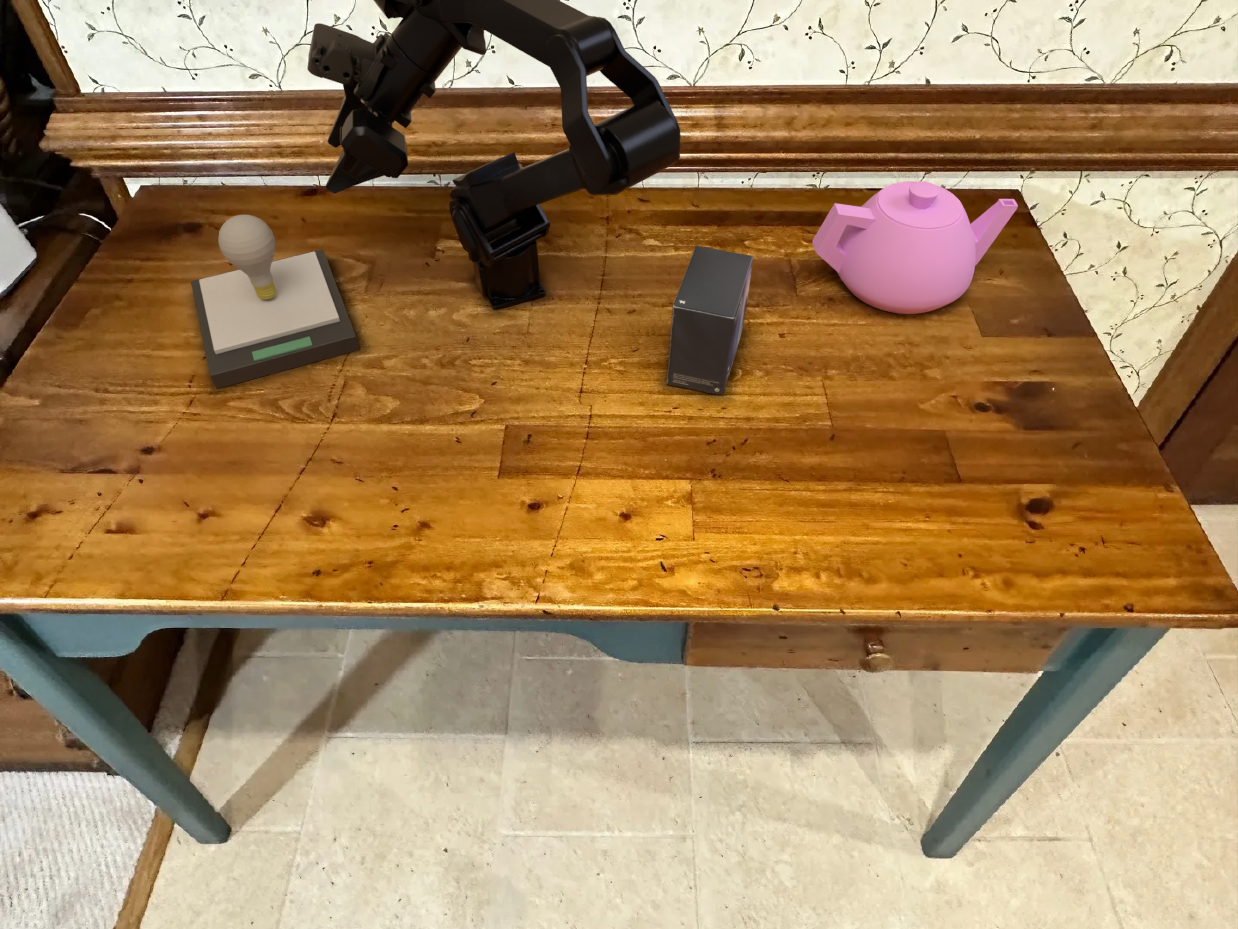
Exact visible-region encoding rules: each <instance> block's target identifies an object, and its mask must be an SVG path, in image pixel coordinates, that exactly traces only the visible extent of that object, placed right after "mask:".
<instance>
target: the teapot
mask: <svg viewBox="0 0 1238 929" xmlns="http://www.w3.org/2000/svg"><path fill="white" fill-rule="evenodd" d="M1018 207H1019V205H1018V203H1017V201H1016V200H1015V199H1014V198H998V200H997V201H996V202H995V203H994V204H993V205H992V206H990V208H987V210H986V211H985V212H983V213H982V214H981V215H980V216H978V217H977V218H976V219H975V220H973V221H972V222H971V223H970V220H969V217H968V213H967V212H966V209H965V208H964V205H963V203H962V202H961V201H960V200H959V198H958V197H957V196H956V194H955V195H954V194H953V193H952V192H951V191H949V190H948V189H946V188H944V187H942V186H939V185H936V184H934V183H933V182H930V181H924V180H919V181H918V180H917V181H914V180H913V181H909V180H907V181H900V182H896V183H891V184H889V185H887V186H885V187H883V188H881V190H879V191H877V192H876V193H875V194H873V195H872V196H871V197H870V198H869V199H868V200H867V201H866V202H864V203H863V205H861V206H856V205H849V204H842V203H836V202H834V204H833V205H832V206H831V209H830V210H829V212H828V213H827V215H826V217H825V219H824V221H823V222H822V224H821V225H820V227H819V229H818V230H817V232H816V234H815V236H814V238H813V239H812V240H811V241H812V246H813V249H814V252H815V254H817V255H818V256H819V258H821V259H822V260H823V261H824V262H826V263H827V264H828V265H829V266H830V267H831V268H832V269H833V270H835V271H836V273H837V275H838V276H839V278H840V281H842V283H843V284H844V285H845V286H846V288H847V289H848V290H849V291H850V292H851V293H852V294H853V296H854V297H856V298H857V299H858V300H860V301H861V302H863V303H865V304H866V305H869V306H870V307H872V308H876V309H878V310H880V311H884V312H888V313H893V314H899V315H900V314H903V315H916V314H917V315H918V314H924V313H928V312H933V311H935V310H938V309H941V308H943V307H945V306H947V305H950V304H951V303H953V302H955V301H956V300H959V298H961V297H962V296H963V295H964V294H965V293H966V291H967V290H968V289H969V287H970V286H971V283H972V281H973V277H974V275H975V269H976V268H975V267H976V266H977V265H978V264H979V263H980V261H981V260H982V258H983V257H984V255H985V254H986V253H987V251H988V250H989V249H990V247H991V245H993V243H994V242H995V240H996V239H997V237H998V236H999V234H1000V233H1001V232H1002V230H1003V229H1004V228H1005V226H1006V225H1007V223H1008V222H1009V221H1010V219H1011V217H1012V216H1013V215H1014V213H1015V212H1016V211H1017V209H1018Z"/></svg>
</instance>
